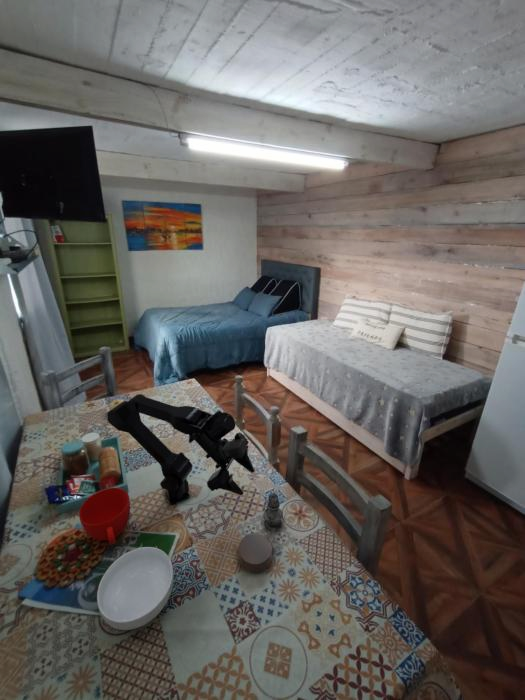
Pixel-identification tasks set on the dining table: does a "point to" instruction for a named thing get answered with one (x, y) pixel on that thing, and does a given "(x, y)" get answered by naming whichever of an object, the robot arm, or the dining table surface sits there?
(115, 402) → the onion
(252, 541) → the walnut puck
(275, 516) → the grey stone chess piece
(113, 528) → the ceramic cup
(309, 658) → the dining table surface
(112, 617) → the cereal bowl
